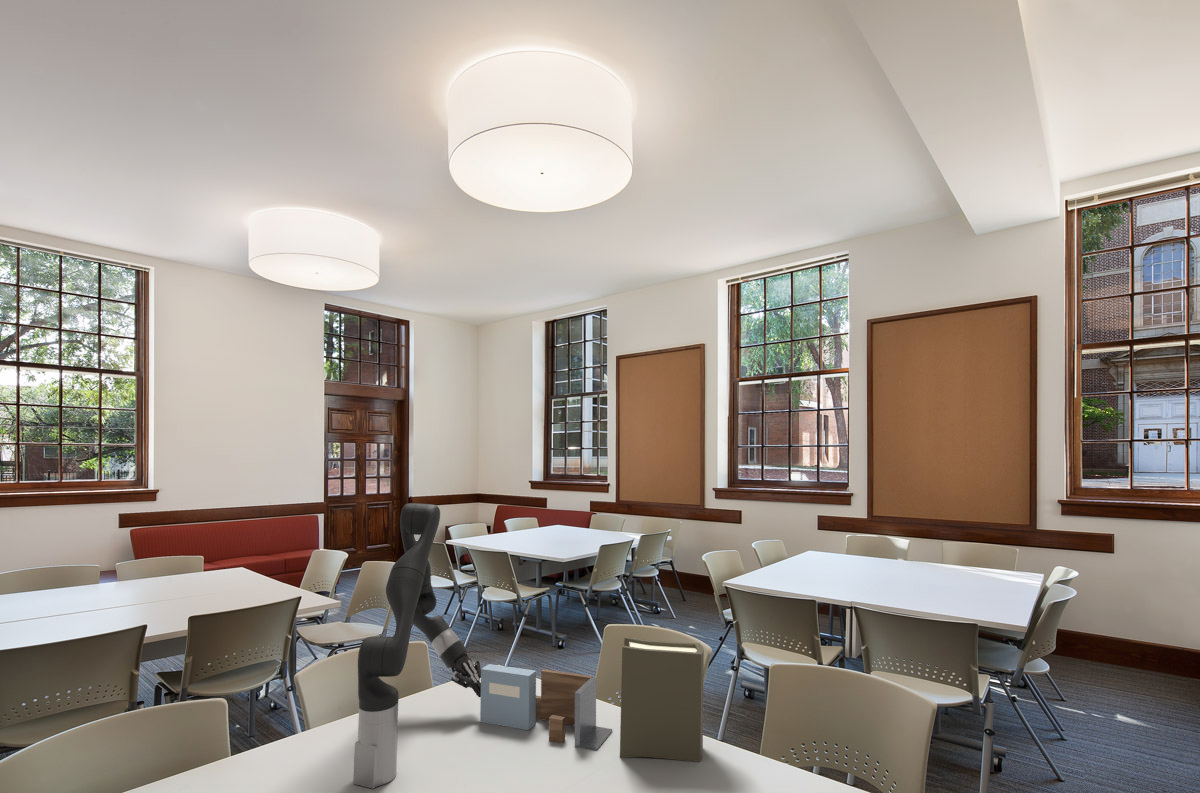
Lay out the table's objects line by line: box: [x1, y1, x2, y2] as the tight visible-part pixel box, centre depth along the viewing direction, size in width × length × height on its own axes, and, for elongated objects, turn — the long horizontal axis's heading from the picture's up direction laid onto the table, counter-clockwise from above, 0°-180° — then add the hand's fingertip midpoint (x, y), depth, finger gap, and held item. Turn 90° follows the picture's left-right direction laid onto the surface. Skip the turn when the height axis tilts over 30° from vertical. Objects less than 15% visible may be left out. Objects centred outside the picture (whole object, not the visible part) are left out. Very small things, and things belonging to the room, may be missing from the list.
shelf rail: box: [536, 668, 594, 744], centre depth 177 cm, size 12×29×14 cm, turn 69°
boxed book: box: [479, 663, 537, 731], centre depth 179 cm, size 5×16×15 cm, turn 69°
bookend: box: [574, 677, 613, 751], centre depth 169 cm, size 12×6×14 cm, turn 159°
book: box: [619, 636, 705, 763], centre depth 163 cm, size 22×9×28 cm, turn 84°
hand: (482, 694), depth 182 cm, fingers closed
